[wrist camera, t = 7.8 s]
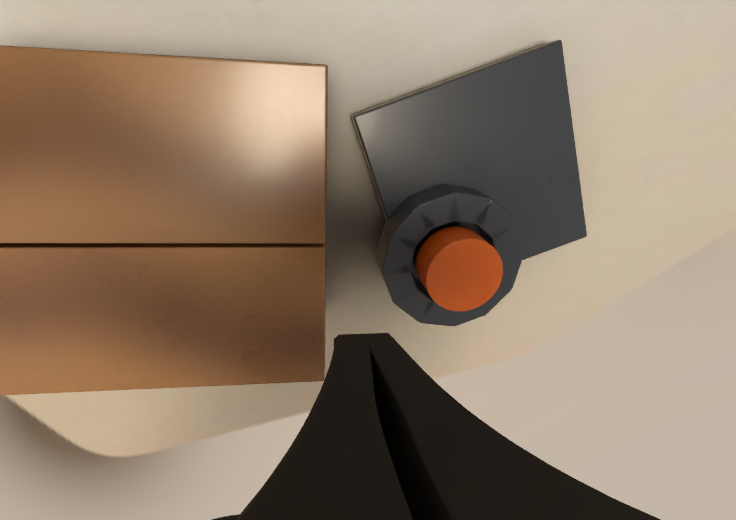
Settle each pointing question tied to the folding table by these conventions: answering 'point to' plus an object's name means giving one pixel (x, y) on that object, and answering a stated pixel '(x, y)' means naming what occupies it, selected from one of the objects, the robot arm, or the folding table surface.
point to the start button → (459, 268)
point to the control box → (475, 170)
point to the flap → (159, 316)
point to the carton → (160, 149)
